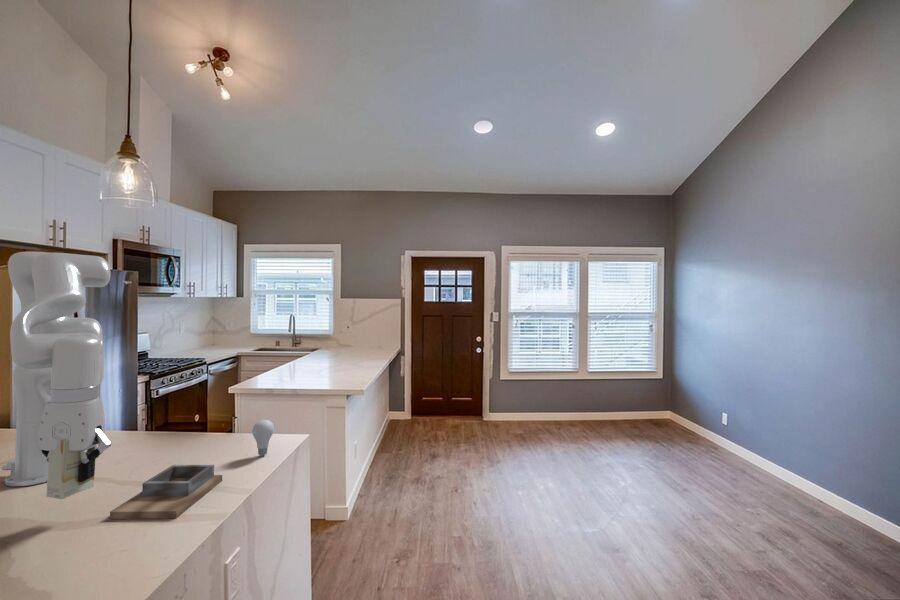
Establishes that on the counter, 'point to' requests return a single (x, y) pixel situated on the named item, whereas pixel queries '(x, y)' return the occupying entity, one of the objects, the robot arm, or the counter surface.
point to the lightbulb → (263, 435)
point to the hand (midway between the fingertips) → (72, 478)
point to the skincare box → (65, 472)
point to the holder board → (169, 493)
